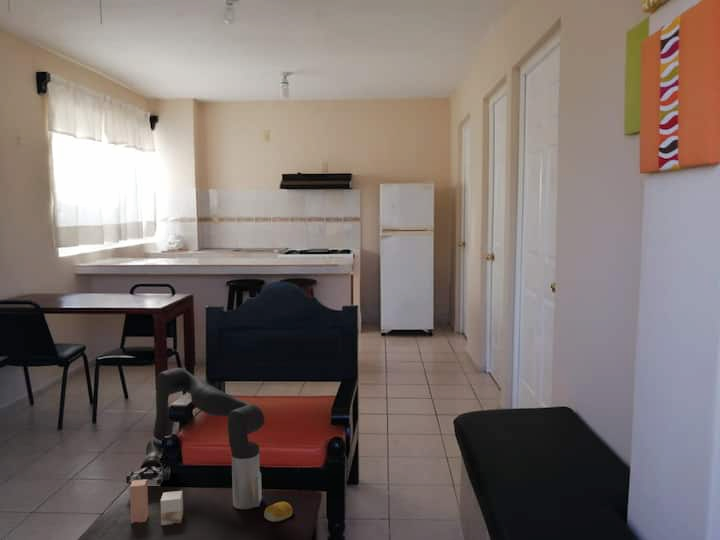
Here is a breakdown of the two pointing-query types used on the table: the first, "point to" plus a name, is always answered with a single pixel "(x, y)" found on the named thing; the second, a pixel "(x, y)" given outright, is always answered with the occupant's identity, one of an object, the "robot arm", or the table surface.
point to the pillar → (139, 501)
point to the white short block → (171, 501)
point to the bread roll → (278, 511)
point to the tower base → (172, 517)
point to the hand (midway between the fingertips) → (145, 483)
